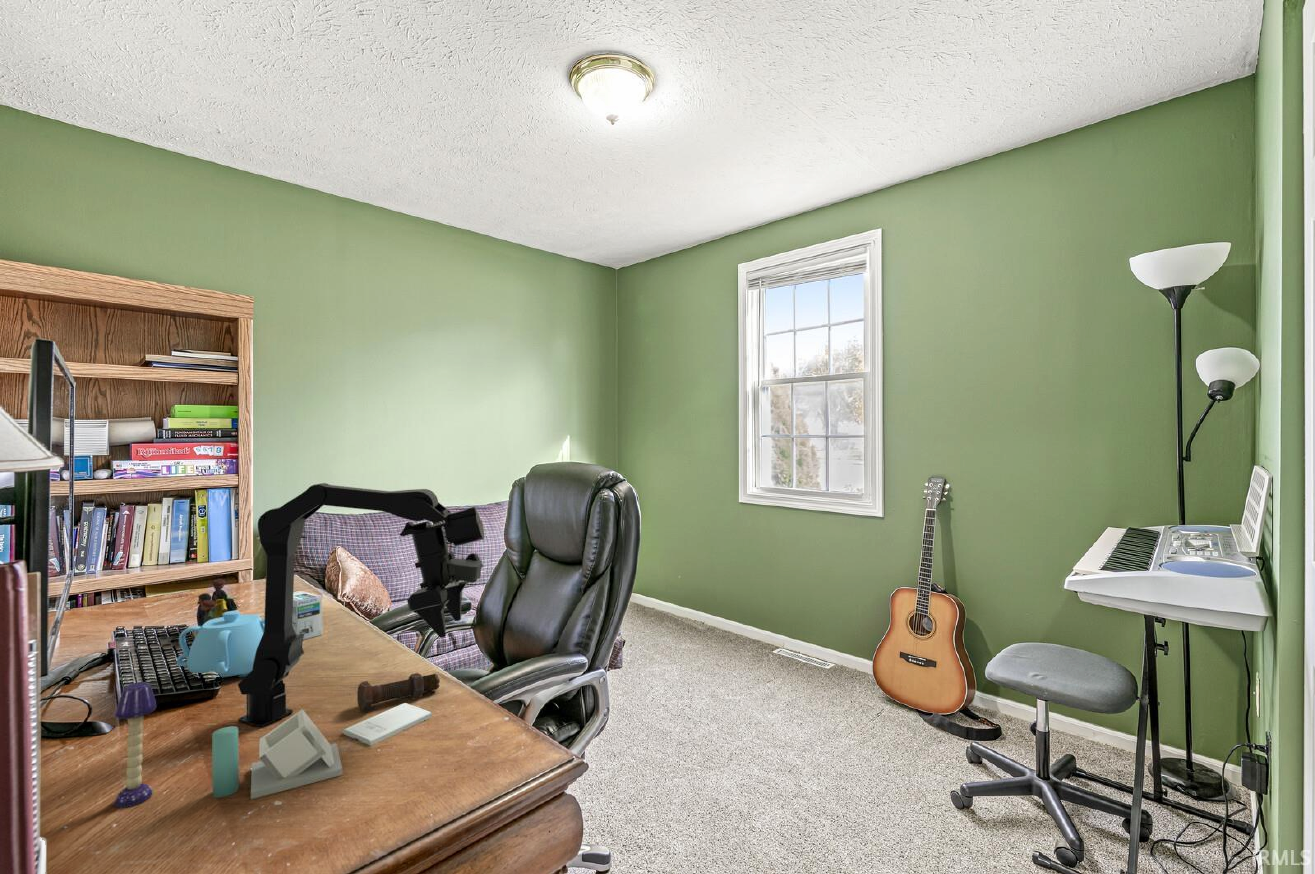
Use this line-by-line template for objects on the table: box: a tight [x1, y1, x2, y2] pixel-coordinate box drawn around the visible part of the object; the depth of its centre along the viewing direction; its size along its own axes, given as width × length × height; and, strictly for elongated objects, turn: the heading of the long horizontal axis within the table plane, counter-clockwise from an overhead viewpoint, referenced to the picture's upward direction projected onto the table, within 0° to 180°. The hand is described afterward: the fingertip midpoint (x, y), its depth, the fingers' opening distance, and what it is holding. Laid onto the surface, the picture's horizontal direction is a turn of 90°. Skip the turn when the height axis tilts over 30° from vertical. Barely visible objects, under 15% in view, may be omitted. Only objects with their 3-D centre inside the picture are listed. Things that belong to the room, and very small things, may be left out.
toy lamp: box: [113, 681, 158, 808], centre depth 91 cm, size 5×5×17 cm
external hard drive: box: [342, 702, 432, 747], centre depth 114 cm, size 2×8×12 cm
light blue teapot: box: [176, 610, 264, 678], centre depth 140 cm, size 16×16×14 cm
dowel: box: [211, 725, 240, 798], centre depth 93 cm, size 3×3×9 cm
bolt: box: [356, 672, 441, 713], centre depth 125 cm, size 6×5×15 cm
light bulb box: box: [292, 590, 323, 641], centre depth 165 cm, size 11×7×11 cm, turn 58°
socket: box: [250, 708, 343, 800], centre depth 98 cm, size 12×10×8 cm
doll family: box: [193, 578, 241, 637], centre depth 167 cm, size 23×9×13 cm, turn 48°
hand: (450, 628), depth 122 cm, fingers open, 9 cm apart
